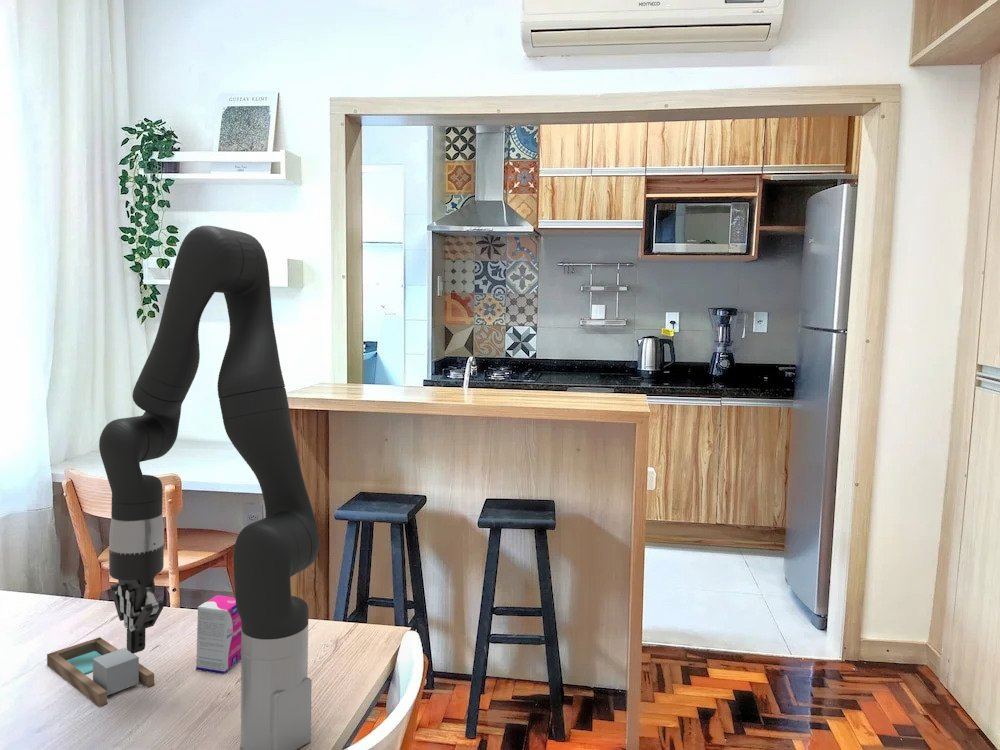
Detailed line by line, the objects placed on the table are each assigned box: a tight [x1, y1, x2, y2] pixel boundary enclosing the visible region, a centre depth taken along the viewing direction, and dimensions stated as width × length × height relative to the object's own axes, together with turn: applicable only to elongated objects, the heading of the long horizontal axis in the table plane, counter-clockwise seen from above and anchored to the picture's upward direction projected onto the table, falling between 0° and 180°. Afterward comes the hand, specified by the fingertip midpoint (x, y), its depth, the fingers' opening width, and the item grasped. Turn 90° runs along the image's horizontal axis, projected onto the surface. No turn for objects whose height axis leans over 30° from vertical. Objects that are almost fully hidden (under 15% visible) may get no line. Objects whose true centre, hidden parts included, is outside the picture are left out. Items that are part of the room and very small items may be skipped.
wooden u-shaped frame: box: [46, 637, 155, 708], centre depth 116 cm, size 20×9×2 cm, turn 53°
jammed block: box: [92, 647, 140, 696], centre depth 113 cm, size 5×5×4 cm
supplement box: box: [195, 594, 242, 675], centre depth 121 cm, size 6×6×12 cm
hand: (135, 650), depth 108 cm, fingers closed
